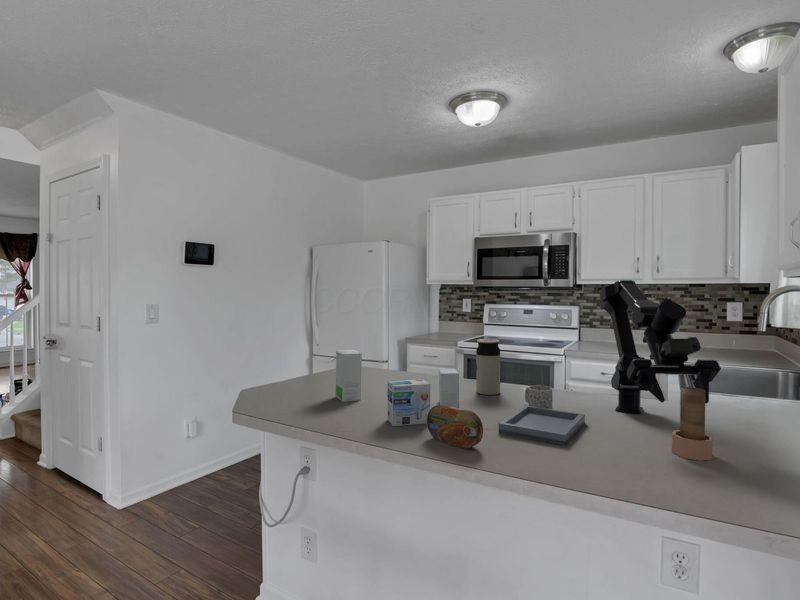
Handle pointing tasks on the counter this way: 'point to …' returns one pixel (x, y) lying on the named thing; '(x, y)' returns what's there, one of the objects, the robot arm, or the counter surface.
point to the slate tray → (543, 424)
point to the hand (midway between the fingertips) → (685, 402)
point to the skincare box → (348, 375)
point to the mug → (539, 396)
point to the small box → (449, 387)
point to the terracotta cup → (692, 447)
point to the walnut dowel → (692, 413)
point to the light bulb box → (408, 402)
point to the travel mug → (488, 367)
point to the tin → (455, 426)
